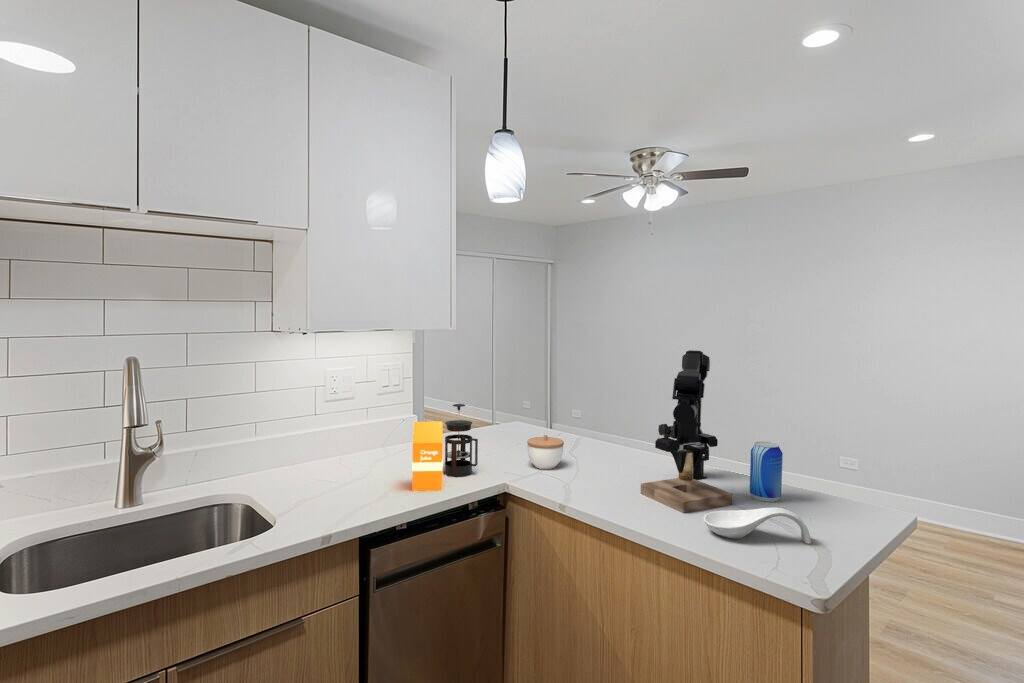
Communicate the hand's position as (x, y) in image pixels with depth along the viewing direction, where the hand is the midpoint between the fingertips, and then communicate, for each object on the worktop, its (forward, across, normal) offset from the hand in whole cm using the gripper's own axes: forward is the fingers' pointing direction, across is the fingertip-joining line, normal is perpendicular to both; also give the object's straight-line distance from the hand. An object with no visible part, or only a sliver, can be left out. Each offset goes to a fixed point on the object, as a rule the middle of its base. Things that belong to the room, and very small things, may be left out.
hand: (685, 471), depth 161 cm
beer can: (+8, -22, +9) cm, 25 cm away
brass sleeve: (+2, 0, 0) cm, 2 cm away
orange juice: (+8, +65, -40) cm, 77 cm away
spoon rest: (+8, +4, +28) cm, 29 cm away
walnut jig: (+8, 0, 0) cm, 8 cm away
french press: (+8, +51, -50) cm, 72 cm away
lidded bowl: (+8, +21, -46) cm, 51 cm away
